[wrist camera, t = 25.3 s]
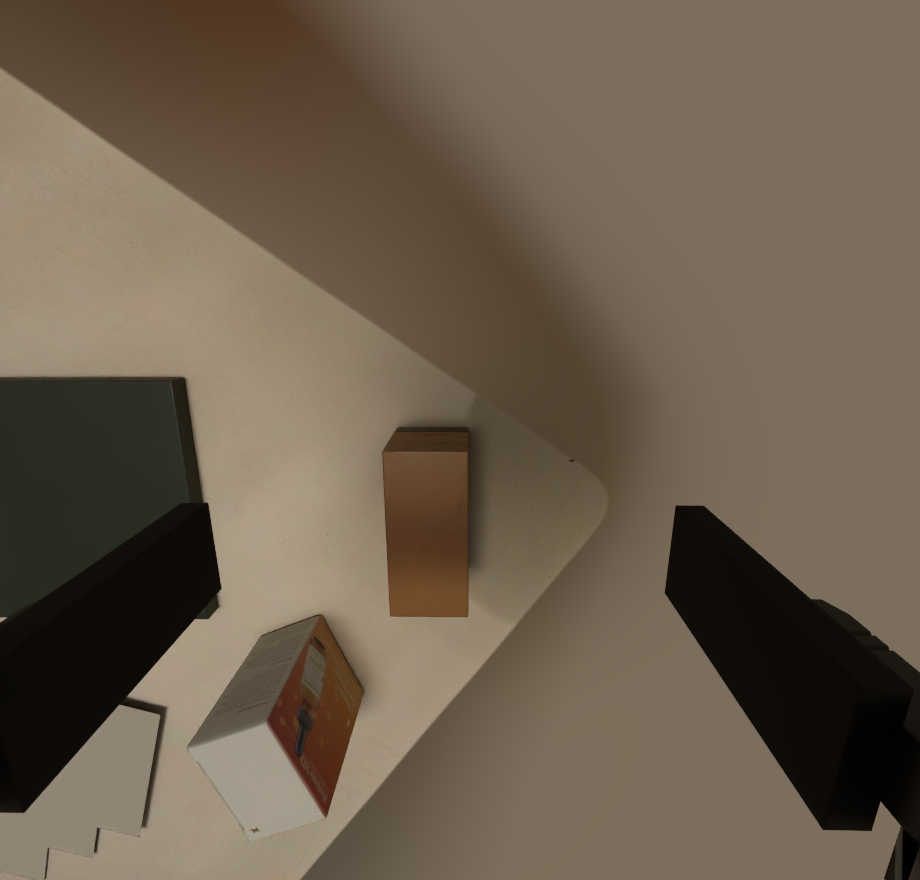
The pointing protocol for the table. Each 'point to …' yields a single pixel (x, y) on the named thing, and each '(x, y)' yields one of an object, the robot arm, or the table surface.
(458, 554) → the brown rectangular block
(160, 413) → the chalkboard
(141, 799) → the paper stack
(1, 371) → the table surface
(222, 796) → the small box
